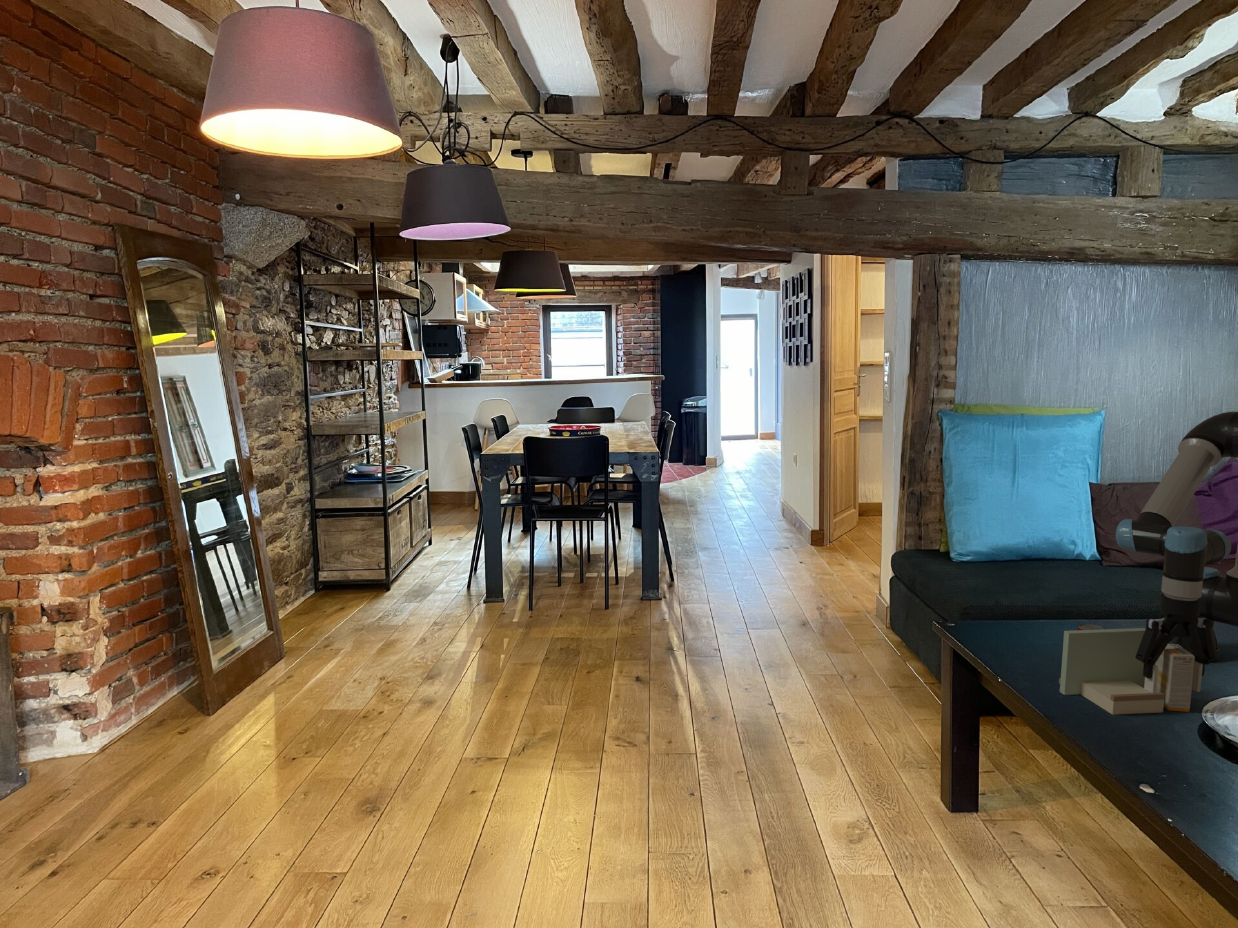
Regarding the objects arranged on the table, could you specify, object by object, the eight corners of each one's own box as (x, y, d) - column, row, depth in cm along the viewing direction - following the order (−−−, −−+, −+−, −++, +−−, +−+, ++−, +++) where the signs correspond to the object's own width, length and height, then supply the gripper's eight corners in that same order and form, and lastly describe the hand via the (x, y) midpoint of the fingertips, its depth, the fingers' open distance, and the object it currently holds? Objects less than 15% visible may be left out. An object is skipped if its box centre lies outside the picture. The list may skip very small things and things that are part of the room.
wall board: (1124, 680, 202) (1129, 621, 200) (1179, 711, 185) (1185, 647, 183) (1046, 683, 201) (1051, 623, 199) (1095, 715, 183) (1100, 650, 181)
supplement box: (1191, 712, 184) (1196, 656, 183) (1167, 710, 185) (1172, 654, 184) (1174, 697, 192) (1179, 643, 191) (1151, 695, 193) (1156, 642, 192)
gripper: (1214, 589, 190) (1205, 681, 193) (1121, 592, 188) (1114, 685, 191) (1241, 599, 183) (1231, 694, 186) (1145, 602, 181) (1137, 699, 184)
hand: (1172, 690), depth 188 cm, fingers open, 10 cm apart
